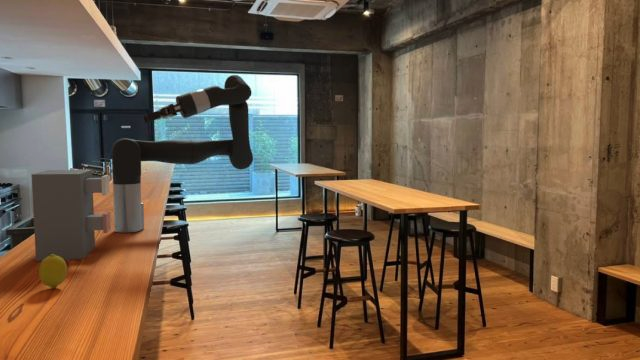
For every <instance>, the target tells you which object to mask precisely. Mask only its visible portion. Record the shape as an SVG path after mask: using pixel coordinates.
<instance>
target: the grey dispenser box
mask: <svg viewBox="0 0 640 360" xmlns="http://www.w3.org/2000/svg"><path fill="white" fill-rule="evenodd" d="M85 178H93V170H92V169H52V170H51V169H48V170H44V171H43V170H42V171H40V172H35V173H31V190H32V210H33V230H34V246H35V247H34V249H35V261H36V262H42V261H43V260H44V259H45V258H46V257H48V256H50V255H51V254H54V255H56V256H59V257H61V258H63V259H64V261H65V260H84V259H85V258H86V257H87V256H89V254H90V253H91V252H92V251H93V250H94V248H95V247H96V238H95V237H96V235H95V234H96V233H95V230H91V231H87V224H86V216H87V215H95V212H94V211H95V210H94V193H85Z"/></svg>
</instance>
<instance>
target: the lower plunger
mask: <svg viewBox="0 0 640 360" xmlns="http://www.w3.org/2000/svg"><path fill="white" fill-rule="evenodd" d="M86 224H87V231H91V230H94V231H102V233H103V234H107V233H109V232H110V230H112V228H111V210H107V211H105V212H104V213H102V214H99V213H98V214H96V213H95V214H94V215H87V216H86Z"/></svg>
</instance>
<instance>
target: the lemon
mask: <svg viewBox="0 0 640 360" xmlns="http://www.w3.org/2000/svg"><path fill="white" fill-rule="evenodd" d="M38 270H39V271H38V275H39V279H40V282H41V283H43V284H44V285H45V286H47V287H50V288H51V289H56V288H57V287H58V286H59V285H61V284H63V283H64V282H65V280H66V278H67V275H68V266H67V263H66V261H65V260H64V259H63V258H61V257H59V256H56V255H54V254H51V255H50V256H48V257H46V258H45V259H44V260H43V261H41V263H40V265H39V268H38Z"/></svg>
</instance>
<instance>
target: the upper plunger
mask: <svg viewBox="0 0 640 360" xmlns="http://www.w3.org/2000/svg"><path fill="white" fill-rule="evenodd" d="M85 193H93V194H101V196H103V197H104V196H105V197H106V196H108V195H109V194H110V175H109V174H104V175H101V177H92V178H85Z"/></svg>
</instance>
